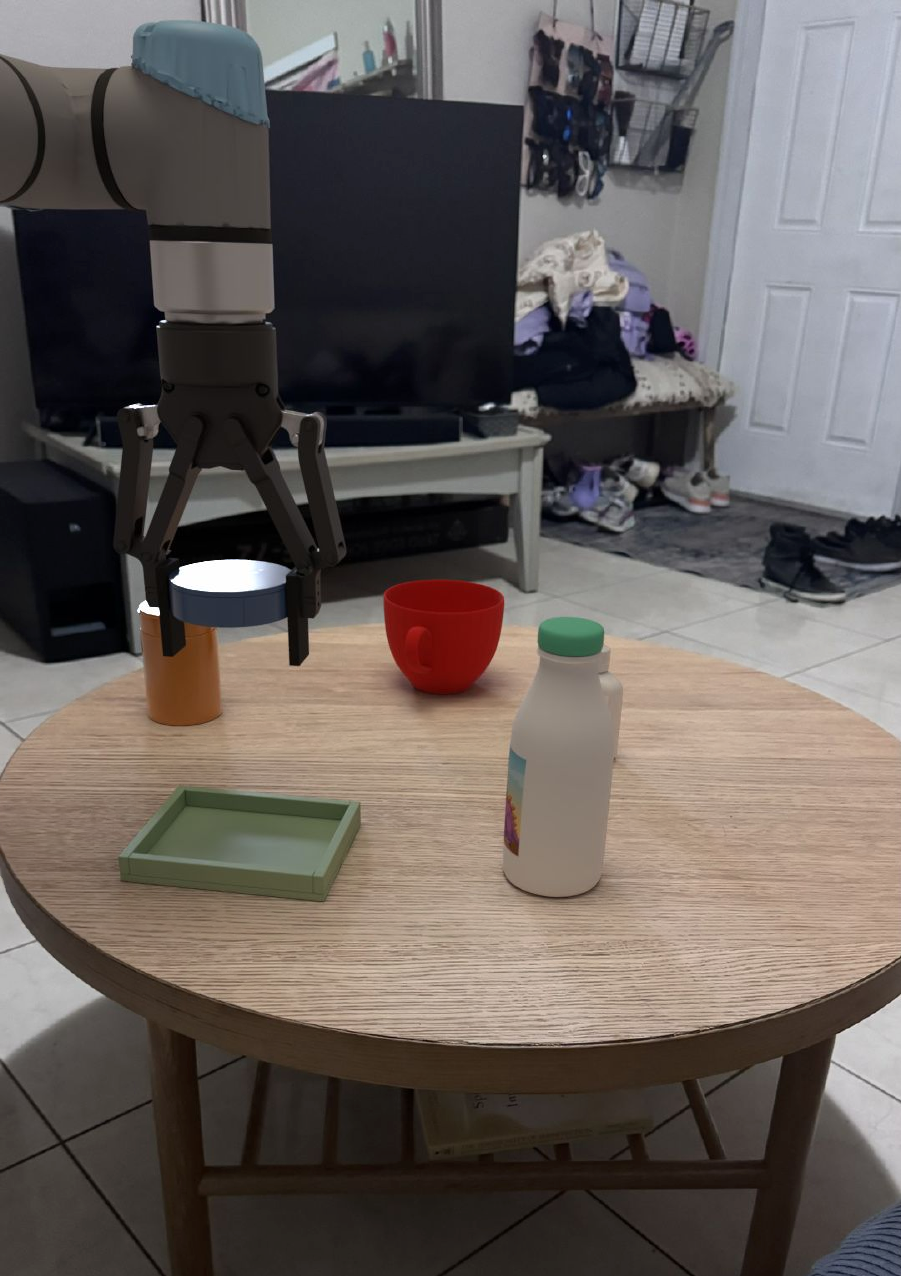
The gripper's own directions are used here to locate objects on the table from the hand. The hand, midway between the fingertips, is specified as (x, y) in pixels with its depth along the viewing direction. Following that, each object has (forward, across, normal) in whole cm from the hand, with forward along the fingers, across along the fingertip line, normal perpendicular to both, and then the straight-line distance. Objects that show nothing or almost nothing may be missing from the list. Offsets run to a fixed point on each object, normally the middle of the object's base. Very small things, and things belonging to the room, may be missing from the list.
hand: (236, 655), depth 81 cm
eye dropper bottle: (+16, -26, -25) cm, 40 cm away
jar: (+16, +15, -27) cm, 35 cm away
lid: (-6, 0, 0) cm, 6 cm away
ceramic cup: (+16, -9, -39) cm, 43 cm away
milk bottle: (+16, -24, -1) cm, 29 cm away
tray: (+16, 0, 0) cm, 16 cm away
